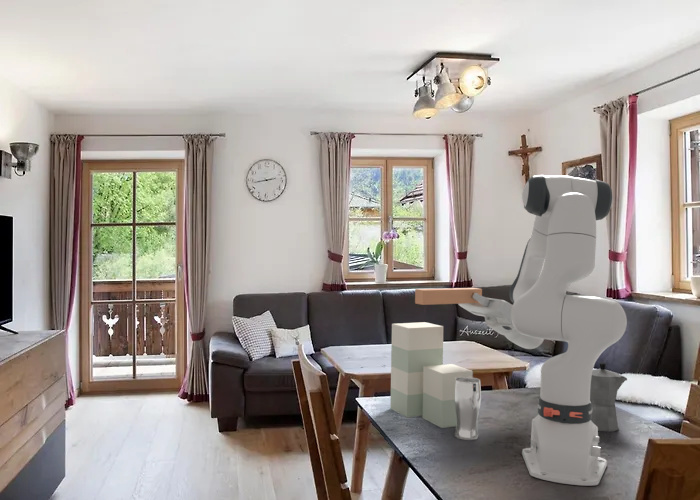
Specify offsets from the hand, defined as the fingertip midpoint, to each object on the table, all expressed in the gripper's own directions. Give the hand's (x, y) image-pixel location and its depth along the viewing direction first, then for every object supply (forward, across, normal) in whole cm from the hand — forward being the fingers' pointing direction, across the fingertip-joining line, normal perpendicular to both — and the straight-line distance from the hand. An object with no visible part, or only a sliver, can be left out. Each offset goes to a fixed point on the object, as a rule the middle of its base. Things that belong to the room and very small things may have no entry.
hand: (467, 294), depth 170 cm
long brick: (+4, 0, +5) cm, 7 cm away
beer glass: (-10, +14, +36) cm, 40 cm away
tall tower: (-10, -12, +36) cm, 39 cm away
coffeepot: (-45, +20, +16) cm, 52 cm away
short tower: (-13, 0, +34) cm, 37 cm away
